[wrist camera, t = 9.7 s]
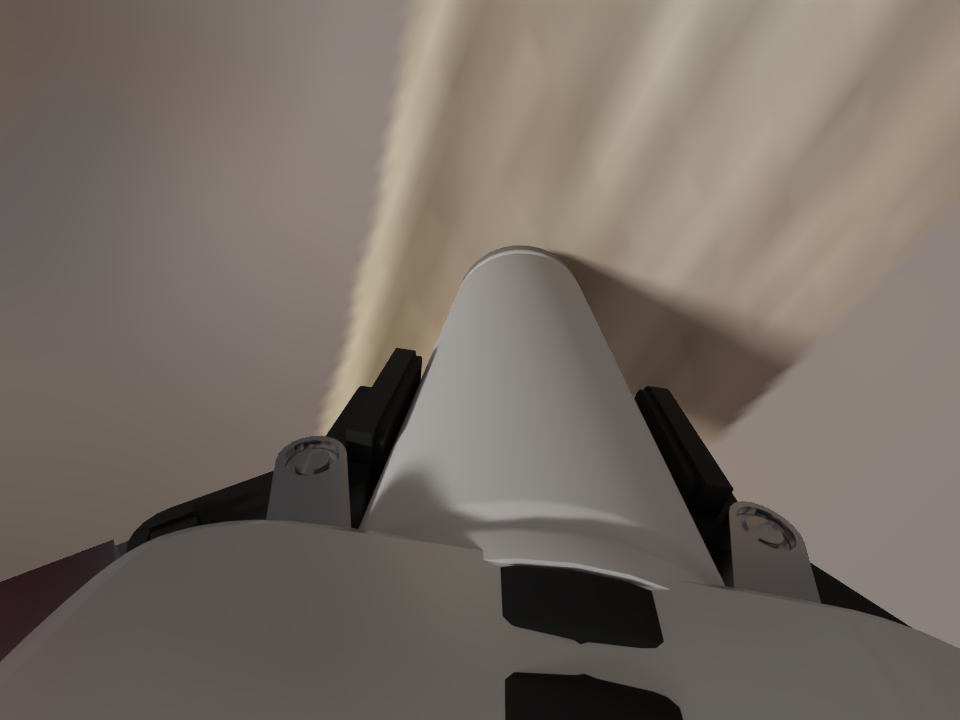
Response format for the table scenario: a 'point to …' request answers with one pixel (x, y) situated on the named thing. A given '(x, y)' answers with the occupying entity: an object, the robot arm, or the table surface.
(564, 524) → the travel mug
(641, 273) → the table surface
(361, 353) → the table surface
